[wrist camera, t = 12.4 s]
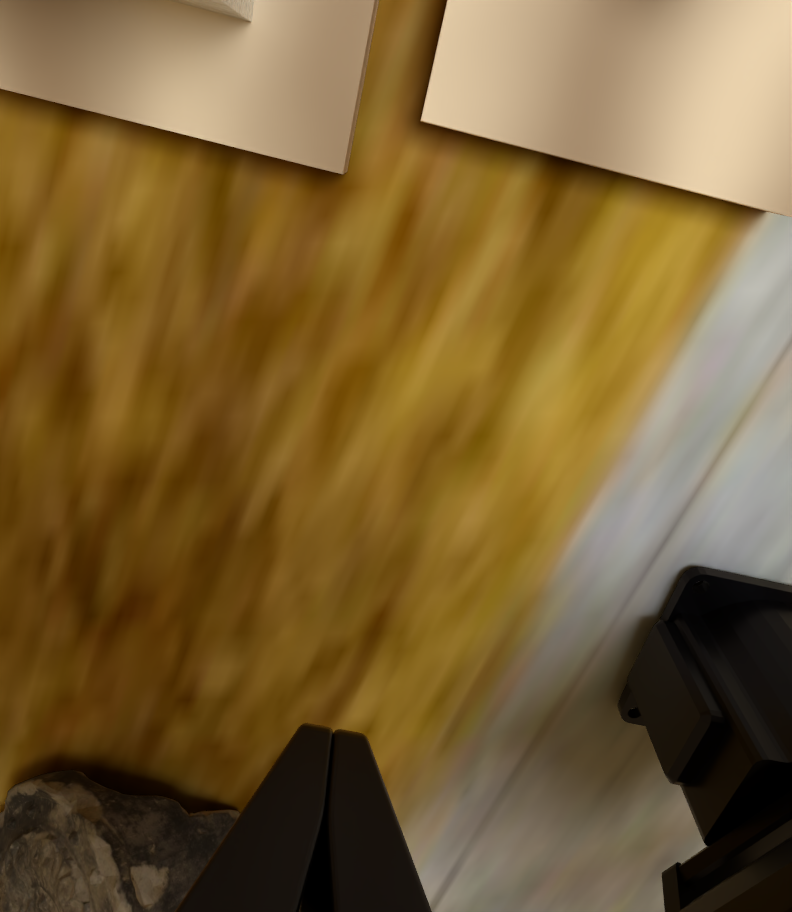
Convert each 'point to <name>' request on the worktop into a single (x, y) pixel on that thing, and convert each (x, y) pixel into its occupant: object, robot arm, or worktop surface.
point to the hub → (201, 68)
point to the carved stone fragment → (100, 847)
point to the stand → (628, 88)
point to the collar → (224, 7)
